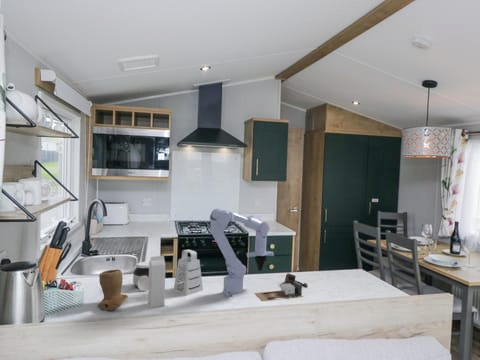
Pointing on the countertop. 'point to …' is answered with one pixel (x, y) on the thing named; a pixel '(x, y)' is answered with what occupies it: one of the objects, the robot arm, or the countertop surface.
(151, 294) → the milk
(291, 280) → the mechanical counter
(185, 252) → the grater
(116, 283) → the brown boot
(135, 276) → the spread jar
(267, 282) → the countertop surface
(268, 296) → the rail board
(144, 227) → the countertop surface
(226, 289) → the robot arm
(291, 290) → the brushed steel box
